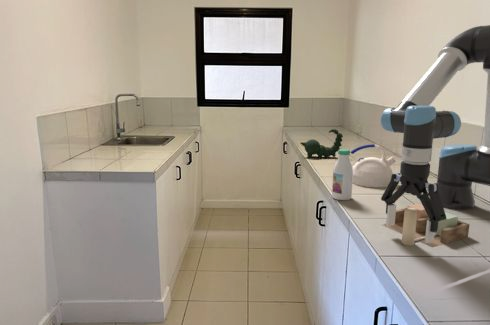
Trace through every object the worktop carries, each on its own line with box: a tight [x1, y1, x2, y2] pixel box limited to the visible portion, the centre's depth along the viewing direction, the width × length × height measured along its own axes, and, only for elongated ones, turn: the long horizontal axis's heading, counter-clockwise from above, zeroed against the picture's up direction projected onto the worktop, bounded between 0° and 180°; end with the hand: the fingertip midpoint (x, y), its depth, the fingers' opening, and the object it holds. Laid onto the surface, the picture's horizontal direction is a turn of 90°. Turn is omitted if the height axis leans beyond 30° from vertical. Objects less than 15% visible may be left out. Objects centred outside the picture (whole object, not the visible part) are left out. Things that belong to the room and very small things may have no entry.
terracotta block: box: [407, 203, 429, 219], centre depth 124 cm, size 5×5×6 cm
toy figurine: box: [300, 128, 344, 159], centre depth 232 cm, size 9×19×25 cm
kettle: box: [350, 144, 397, 189], centre depth 177 cm, size 20×21×18 cm
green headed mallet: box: [401, 207, 459, 247], centre depth 113 cm, size 20×5×11 cm, turn 117°
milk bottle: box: [331, 148, 353, 201], centre depth 152 cm, size 8×8×20 cm
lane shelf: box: [382, 208, 471, 248], centre depth 119 cm, size 16×19×5 cm
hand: (408, 233), depth 110 cm, fingers open, 13 cm apart
